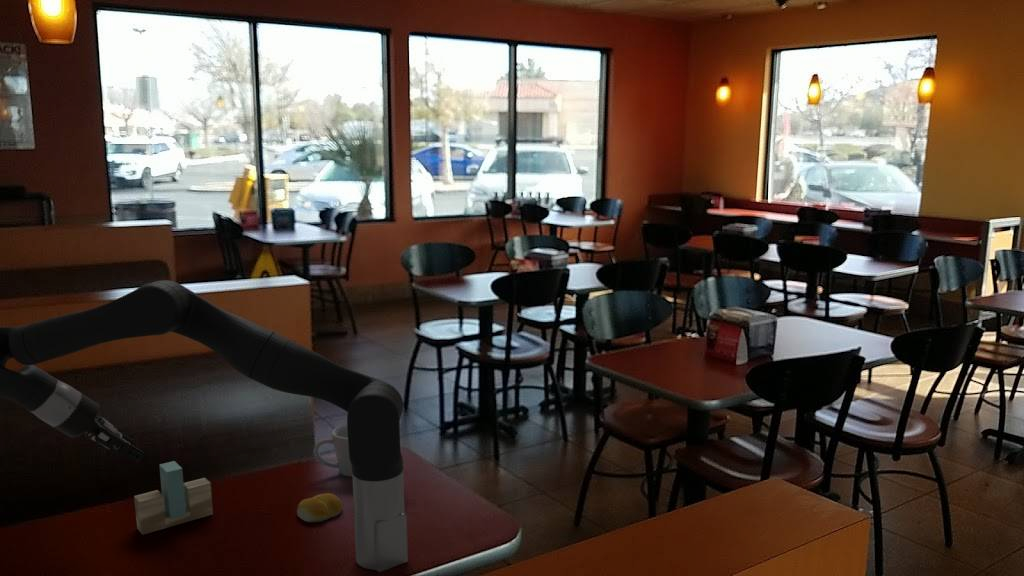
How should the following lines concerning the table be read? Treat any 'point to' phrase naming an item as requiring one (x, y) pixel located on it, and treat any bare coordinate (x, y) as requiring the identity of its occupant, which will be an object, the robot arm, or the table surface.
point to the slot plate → (153, 507)
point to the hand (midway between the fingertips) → (135, 451)
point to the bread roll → (319, 508)
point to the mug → (337, 451)
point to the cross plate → (172, 489)
